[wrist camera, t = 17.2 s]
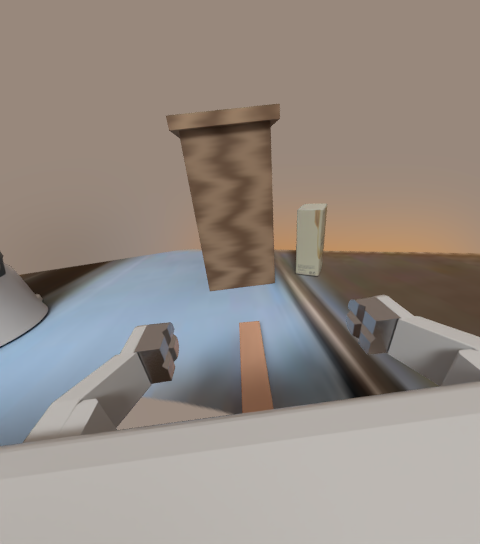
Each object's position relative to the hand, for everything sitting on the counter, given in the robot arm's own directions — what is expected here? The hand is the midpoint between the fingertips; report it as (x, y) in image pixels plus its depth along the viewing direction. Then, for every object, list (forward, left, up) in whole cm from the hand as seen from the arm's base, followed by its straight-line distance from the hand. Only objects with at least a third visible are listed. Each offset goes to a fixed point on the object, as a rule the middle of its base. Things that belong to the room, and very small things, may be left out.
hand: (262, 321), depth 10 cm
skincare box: (+14, +29, -13) cm, 35 cm away
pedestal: (0, +30, -13) cm, 33 cm away
